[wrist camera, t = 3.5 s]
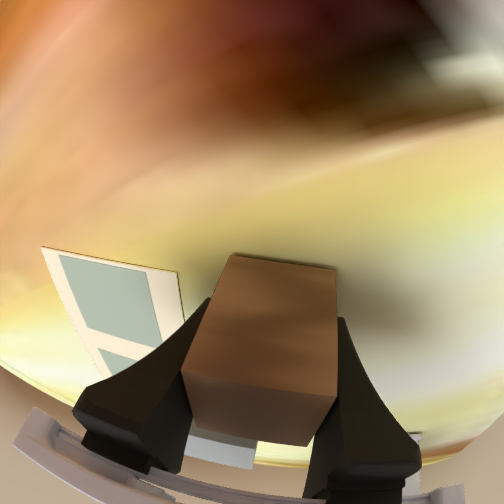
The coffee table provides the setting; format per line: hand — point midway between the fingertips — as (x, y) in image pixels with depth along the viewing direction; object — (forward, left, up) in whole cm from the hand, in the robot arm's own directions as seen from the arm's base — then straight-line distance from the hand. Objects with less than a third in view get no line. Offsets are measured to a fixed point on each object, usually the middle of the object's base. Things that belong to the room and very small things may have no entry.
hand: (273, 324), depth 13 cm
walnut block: (0, 0, -2) cm, 2 cm away
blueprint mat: (+10, +7, -2) cm, 13 cm away
